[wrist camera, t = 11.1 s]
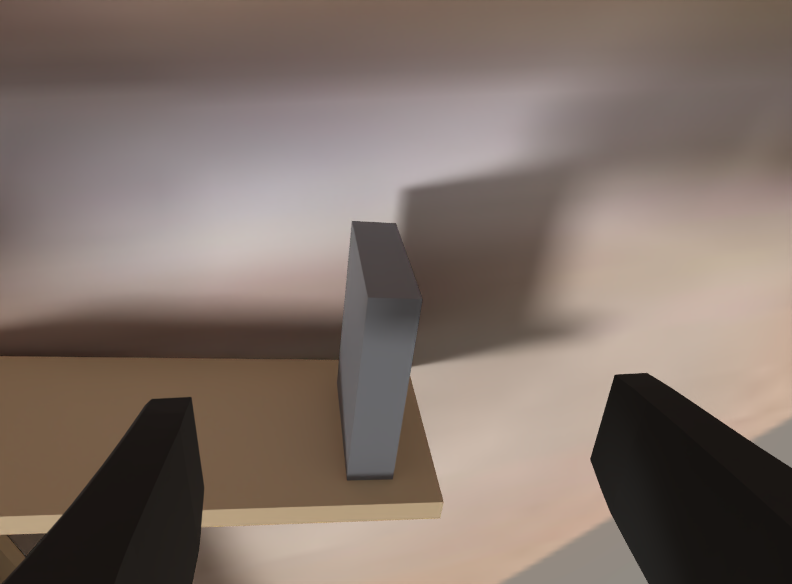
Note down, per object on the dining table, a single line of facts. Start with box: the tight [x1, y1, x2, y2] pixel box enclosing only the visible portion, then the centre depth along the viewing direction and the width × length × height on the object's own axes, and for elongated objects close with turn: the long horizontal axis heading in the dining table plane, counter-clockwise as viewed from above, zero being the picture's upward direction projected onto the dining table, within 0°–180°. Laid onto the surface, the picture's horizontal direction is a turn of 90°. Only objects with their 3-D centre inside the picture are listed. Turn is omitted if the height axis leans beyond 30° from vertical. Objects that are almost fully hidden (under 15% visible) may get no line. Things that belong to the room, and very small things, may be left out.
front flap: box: [0, 221, 444, 535], centre depth 16 cm, size 16×6×6 cm, turn 83°
